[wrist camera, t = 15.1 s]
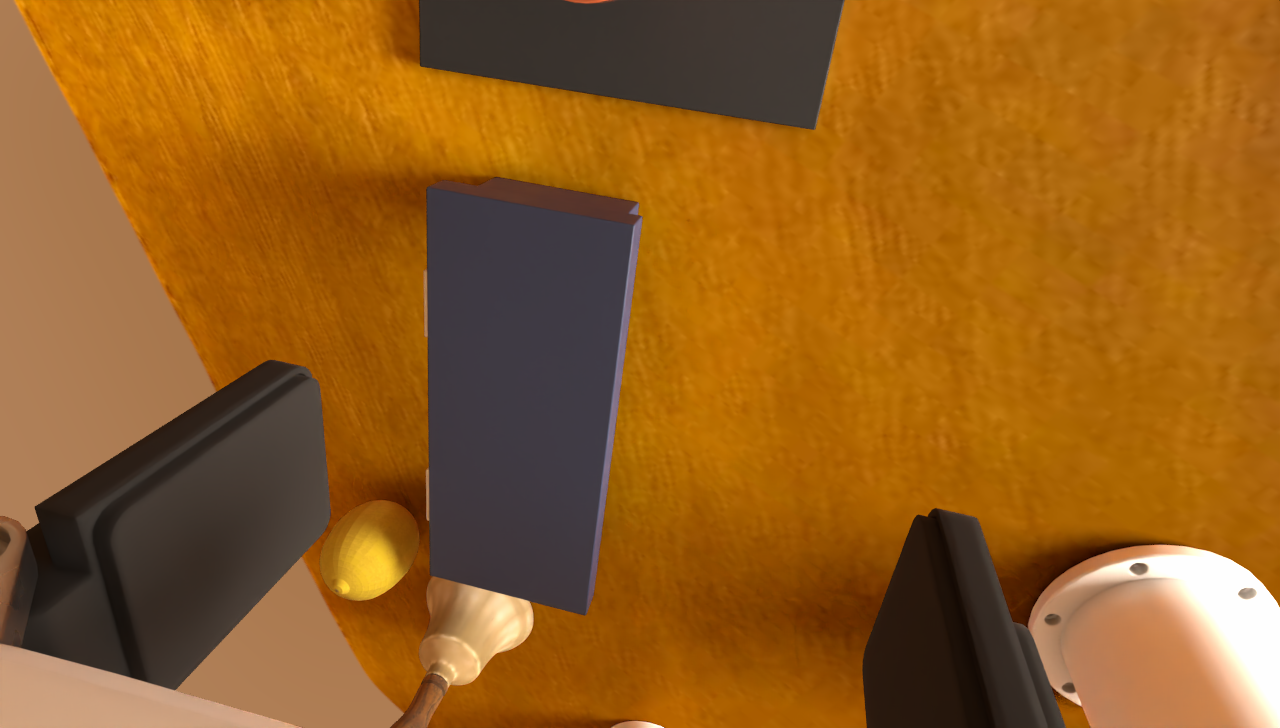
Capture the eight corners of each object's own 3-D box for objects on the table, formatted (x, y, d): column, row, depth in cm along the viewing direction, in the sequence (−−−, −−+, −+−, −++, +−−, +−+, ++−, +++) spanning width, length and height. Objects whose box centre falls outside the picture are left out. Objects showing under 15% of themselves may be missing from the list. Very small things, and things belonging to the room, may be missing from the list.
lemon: (351, 490, 51) (278, 566, 44) (411, 468, 49) (344, 544, 42) (394, 550, 53) (330, 633, 46) (453, 531, 51) (396, 615, 44)
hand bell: (423, 551, 52) (280, 749, 38) (533, 572, 51) (427, 786, 37) (431, 635, 56) (303, 844, 42) (534, 657, 54) (438, 882, 40)
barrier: (659, 196, 38) (634, 225, 32) (610, 550, 48) (585, 616, 43) (474, 163, 39) (421, 186, 34) (466, 515, 50) (426, 575, 44)
